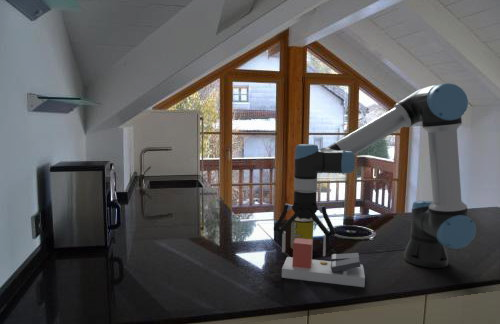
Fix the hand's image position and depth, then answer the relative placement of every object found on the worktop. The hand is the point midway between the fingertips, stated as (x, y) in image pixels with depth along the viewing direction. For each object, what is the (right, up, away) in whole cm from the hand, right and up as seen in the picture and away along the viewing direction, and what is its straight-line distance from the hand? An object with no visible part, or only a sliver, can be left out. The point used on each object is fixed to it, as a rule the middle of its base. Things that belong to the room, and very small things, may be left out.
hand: (303, 253), depth 128 cm
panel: (+6, -7, -1) cm, 10 cm away
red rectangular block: (0, -4, 0) cm, 4 cm away
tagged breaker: (+14, -2, 0) cm, 14 cm away
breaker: (+13, -2, -6) cm, 14 cm away
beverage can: (+3, -5, +28) cm, 29 cm away
